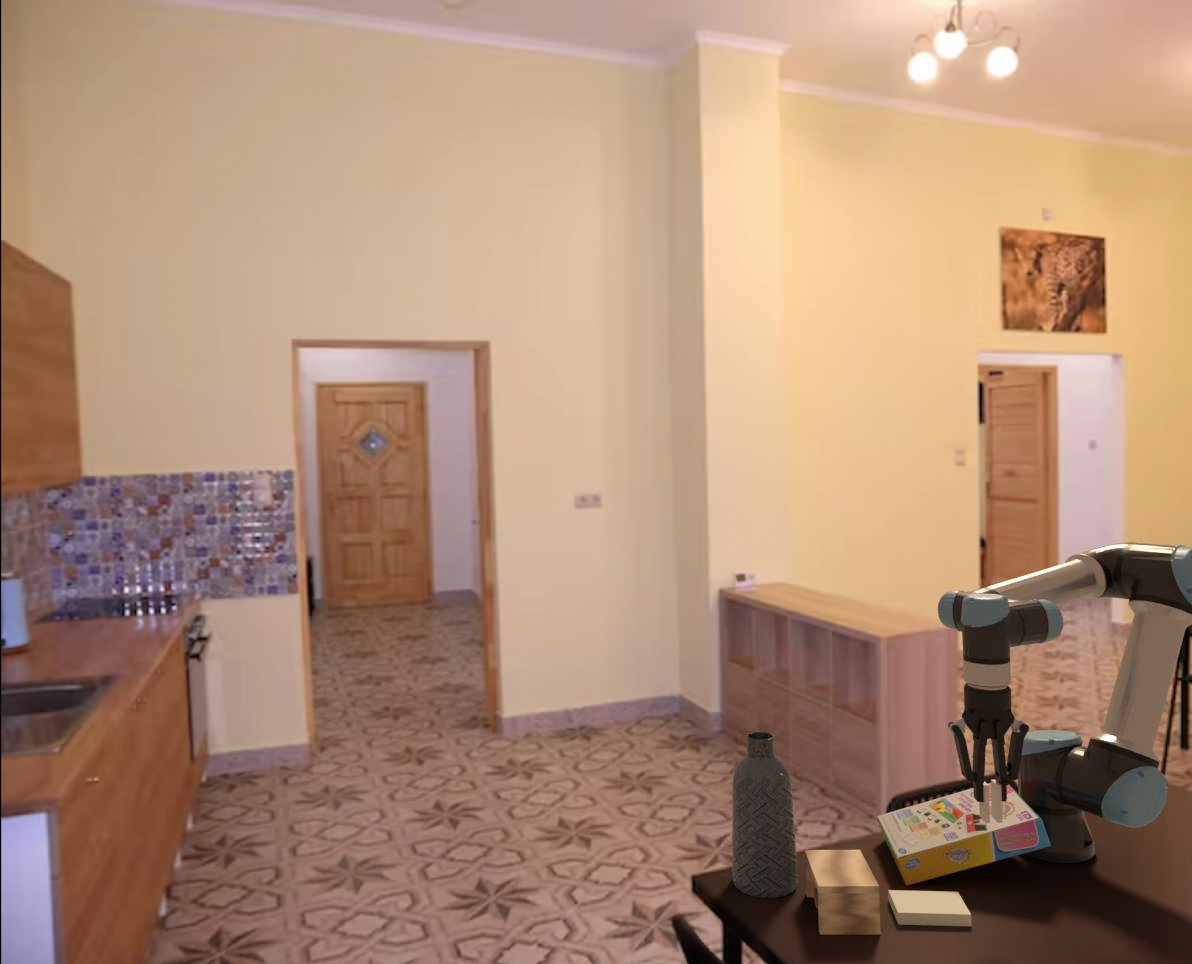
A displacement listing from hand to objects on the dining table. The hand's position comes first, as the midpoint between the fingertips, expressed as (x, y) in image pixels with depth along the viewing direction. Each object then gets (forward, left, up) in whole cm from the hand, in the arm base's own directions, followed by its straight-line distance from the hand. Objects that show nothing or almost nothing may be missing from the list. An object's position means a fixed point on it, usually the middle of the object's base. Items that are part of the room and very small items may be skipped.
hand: (990, 819), depth 154 cm
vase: (+38, -11, -17) cm, 43 cm away
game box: (+13, -20, -14) cm, 27 cm away
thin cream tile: (+11, 0, -17) cm, 20 cm away
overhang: (+26, 0, -16) cm, 31 cm away
